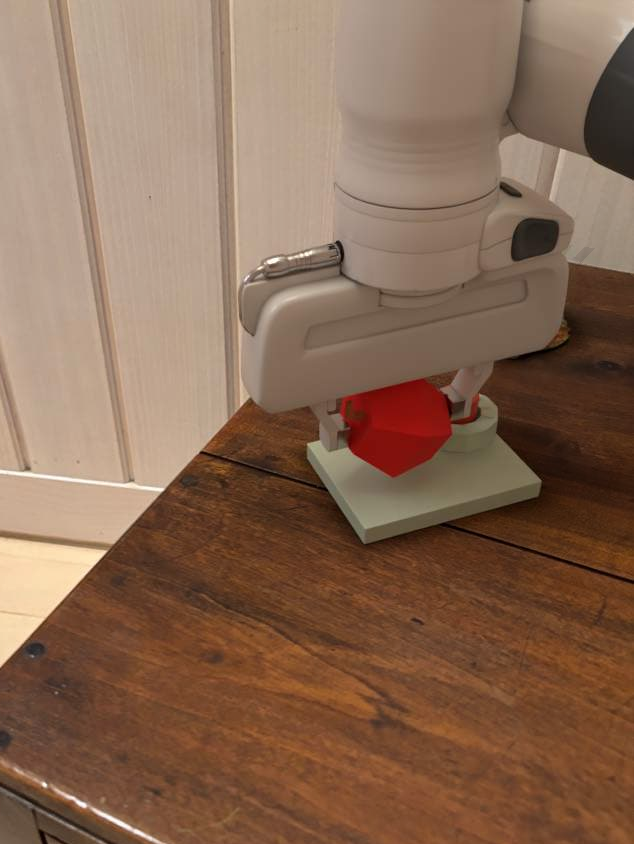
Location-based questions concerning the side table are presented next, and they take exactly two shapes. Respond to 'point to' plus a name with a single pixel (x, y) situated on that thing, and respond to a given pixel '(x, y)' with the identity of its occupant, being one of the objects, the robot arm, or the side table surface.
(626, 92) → the robot arm
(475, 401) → the button
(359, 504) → the scale
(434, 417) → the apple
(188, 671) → the side table surface
